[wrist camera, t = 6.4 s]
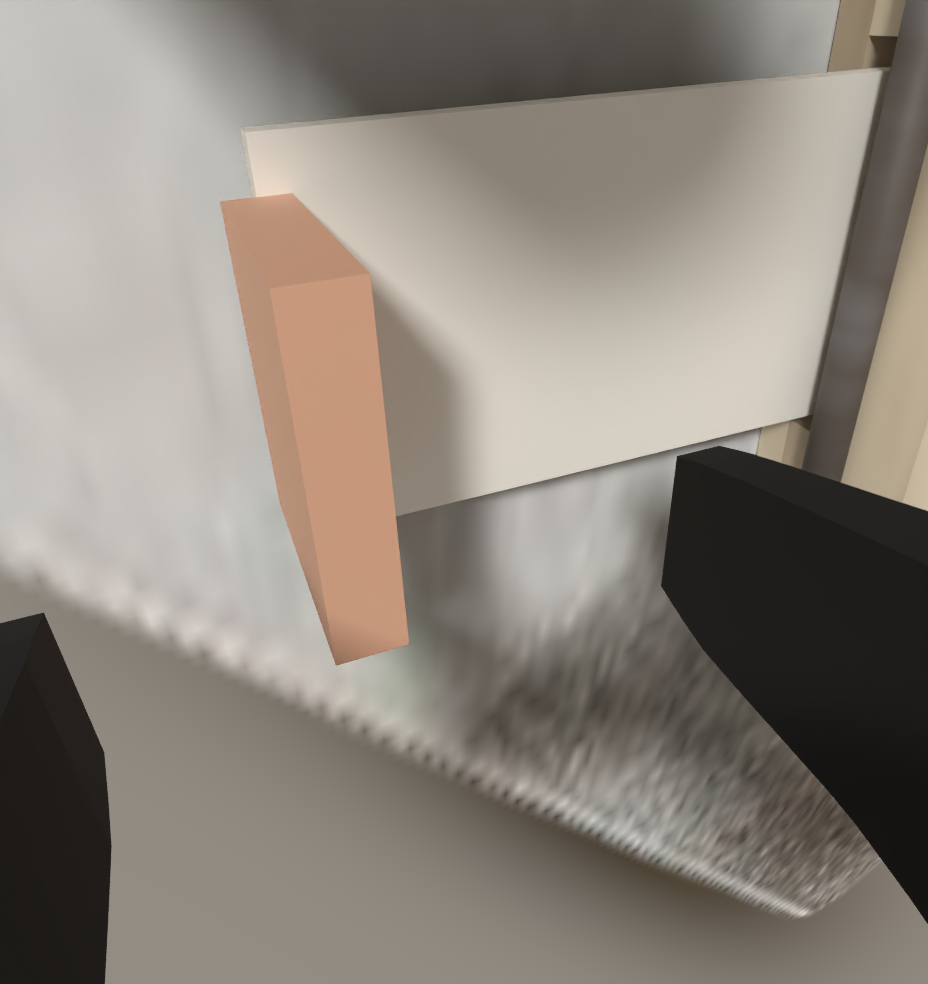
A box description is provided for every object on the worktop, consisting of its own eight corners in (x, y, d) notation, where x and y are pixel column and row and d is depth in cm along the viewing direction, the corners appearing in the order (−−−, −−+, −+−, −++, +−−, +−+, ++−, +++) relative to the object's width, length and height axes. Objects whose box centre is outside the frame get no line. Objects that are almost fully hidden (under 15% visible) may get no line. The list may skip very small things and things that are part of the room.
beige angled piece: (908, 65, 17) (1188, 86, 13) (831, 397, 22) (1019, 499, 17) (203, 131, 13) (254, 198, 9) (282, 528, 17) (344, 709, 13)
